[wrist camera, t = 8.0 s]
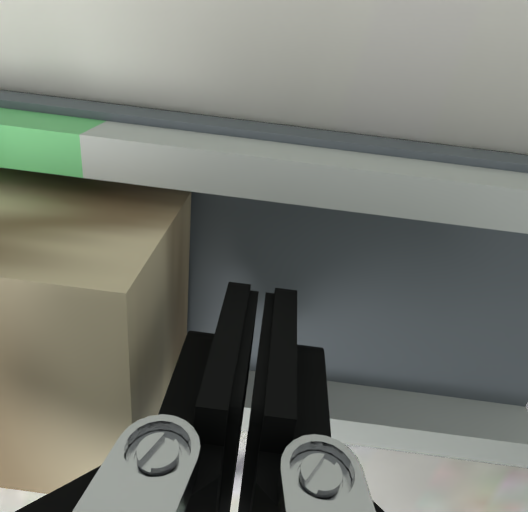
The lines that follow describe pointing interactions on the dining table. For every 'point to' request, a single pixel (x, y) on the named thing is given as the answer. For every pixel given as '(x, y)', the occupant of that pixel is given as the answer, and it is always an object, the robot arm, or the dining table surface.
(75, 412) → the beige rectangular block
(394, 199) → the grey metal rail
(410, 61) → the dining table surface
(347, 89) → the dining table surface
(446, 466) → the dining table surface
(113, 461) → the robot arm
